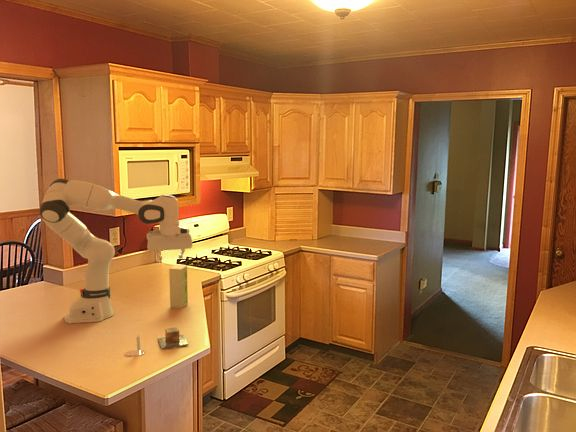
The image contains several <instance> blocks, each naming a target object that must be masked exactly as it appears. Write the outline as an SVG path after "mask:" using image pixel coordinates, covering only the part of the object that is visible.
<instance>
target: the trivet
mask: <svg viewBox="0 0 576 432" xmlns="http://www.w3.org/2000/svg"><path fill="white" fill-rule="evenodd" d="M157 342H158V344H160V345H159V347H160V350H161V349H164V350H168V349H167V348H170V349H174V347H177V348H181V347H180V346H184V347H188V346H189V343H188V341H187V339H186V338H185V336H184V334H179V342H178V343H171V344H167V342H166V336H165V337H159V338H158V337H157ZM187 345H188V346H187Z"/></svg>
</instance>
